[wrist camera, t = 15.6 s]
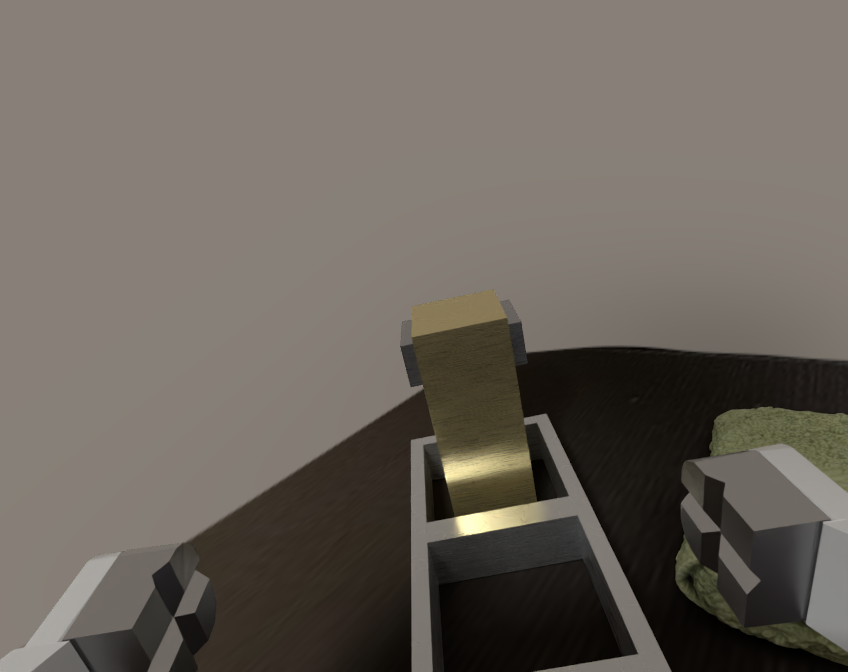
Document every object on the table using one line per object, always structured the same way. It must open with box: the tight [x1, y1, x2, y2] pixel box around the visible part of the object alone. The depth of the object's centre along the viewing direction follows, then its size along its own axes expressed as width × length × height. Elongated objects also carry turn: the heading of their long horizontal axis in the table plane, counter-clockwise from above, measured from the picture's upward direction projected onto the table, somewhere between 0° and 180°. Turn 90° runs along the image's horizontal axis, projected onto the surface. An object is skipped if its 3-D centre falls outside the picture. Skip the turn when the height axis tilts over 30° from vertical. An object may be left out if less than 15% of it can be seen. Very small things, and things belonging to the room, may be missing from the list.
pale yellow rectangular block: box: [400, 290, 537, 517], centre depth 25 cm, size 5×4×11 cm
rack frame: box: [411, 414, 671, 672], centre depth 23 cm, size 8×15×2 cm, turn 2°
